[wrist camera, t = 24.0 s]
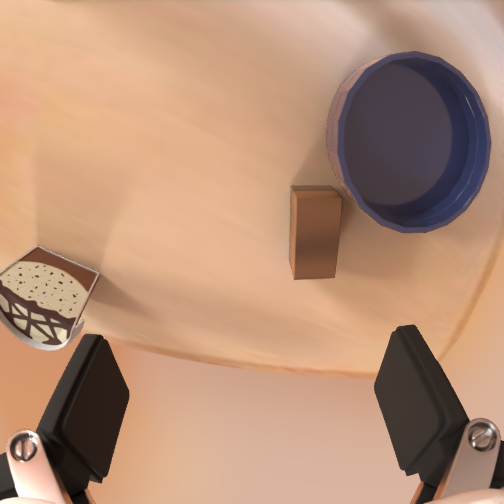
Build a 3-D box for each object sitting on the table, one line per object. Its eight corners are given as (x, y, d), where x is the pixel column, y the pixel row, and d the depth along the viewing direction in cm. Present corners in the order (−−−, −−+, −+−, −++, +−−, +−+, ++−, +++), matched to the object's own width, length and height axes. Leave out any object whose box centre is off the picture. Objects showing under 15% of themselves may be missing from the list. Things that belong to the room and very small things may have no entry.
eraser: (290, 185, 30) (296, 198, 26) (331, 185, 30) (342, 198, 26) (288, 260, 33) (293, 280, 30) (325, 258, 33) (334, 278, 30)
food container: (27, 279, 34) (-12, 324, 25) (28, 240, 31) (-19, 282, 23) (104, 314, 36) (75, 370, 27) (111, 277, 34) (76, 333, 25)
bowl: (325, 45, 23) (336, 37, 20) (471, 74, 23) (493, 75, 20) (322, 218, 31) (332, 234, 28) (457, 219, 31) (476, 232, 28)
